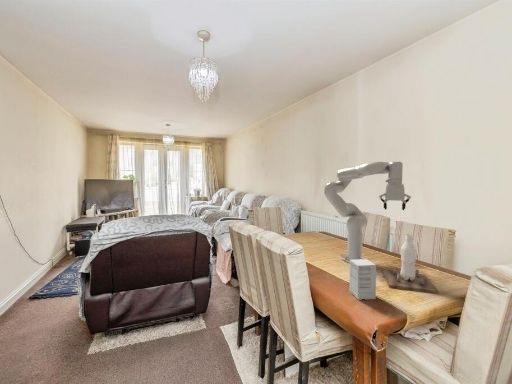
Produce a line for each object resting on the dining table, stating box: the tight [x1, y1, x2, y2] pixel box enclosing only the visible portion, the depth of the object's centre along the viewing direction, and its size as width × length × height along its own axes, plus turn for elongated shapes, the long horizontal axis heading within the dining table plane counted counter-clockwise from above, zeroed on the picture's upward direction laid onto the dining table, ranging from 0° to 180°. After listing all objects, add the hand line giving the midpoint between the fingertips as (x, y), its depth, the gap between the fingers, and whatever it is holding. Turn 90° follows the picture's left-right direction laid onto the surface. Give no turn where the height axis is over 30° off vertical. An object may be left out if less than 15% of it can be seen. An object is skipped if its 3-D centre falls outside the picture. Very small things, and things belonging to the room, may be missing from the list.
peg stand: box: [382, 266, 439, 295], centre depth 140 cm, size 22×22×6 cm
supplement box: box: [348, 258, 377, 301], centre depth 125 cm, size 10×9×17 cm
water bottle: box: [399, 234, 417, 281], centre depth 140 cm, size 7×7×25 cm
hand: (394, 209), depth 156 cm, fingers open, 9 cm apart
